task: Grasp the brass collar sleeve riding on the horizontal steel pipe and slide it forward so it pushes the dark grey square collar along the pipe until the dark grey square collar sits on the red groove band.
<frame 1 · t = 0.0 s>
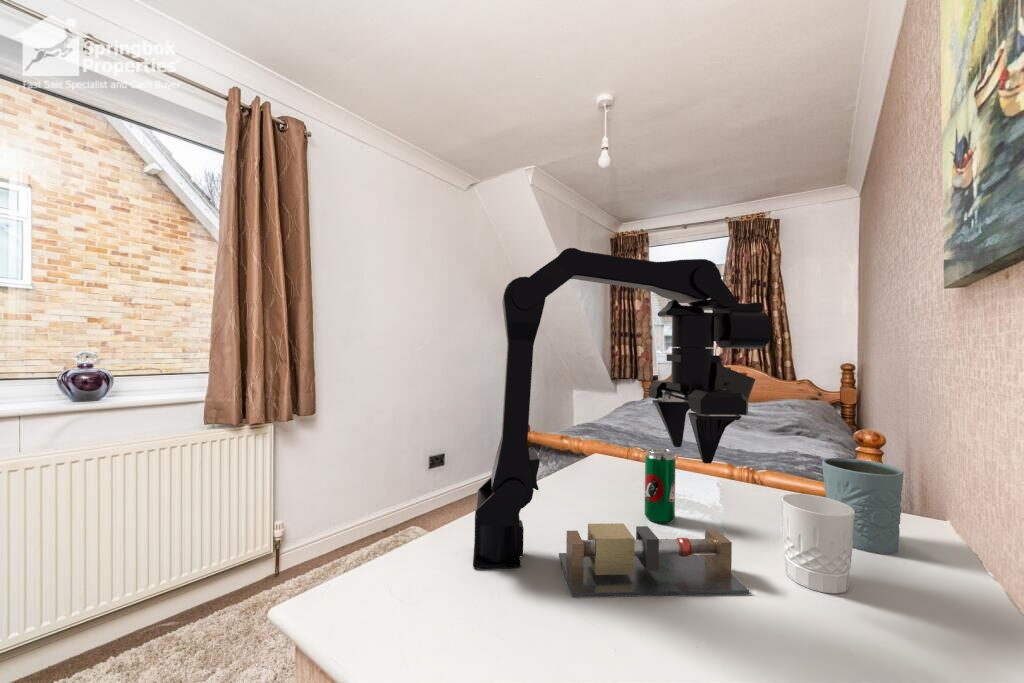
hand: (691, 454, 63), 15 cm above the table, tool pointing down, fingers open, 9 cm apart
dark grey square collar: (646, 547, 58), point 3 cm above the table, slide at 0.0 cm
sleeve: (610, 548, 57), point 3 cm above the table, slide at 0.0 cm
soda can: (659, 520, 76), on the table
drinking glass 2: (860, 541, 69), on the table
pipe rig: (646, 573, 58), on the table
white cup: (815, 581, 57), on the table
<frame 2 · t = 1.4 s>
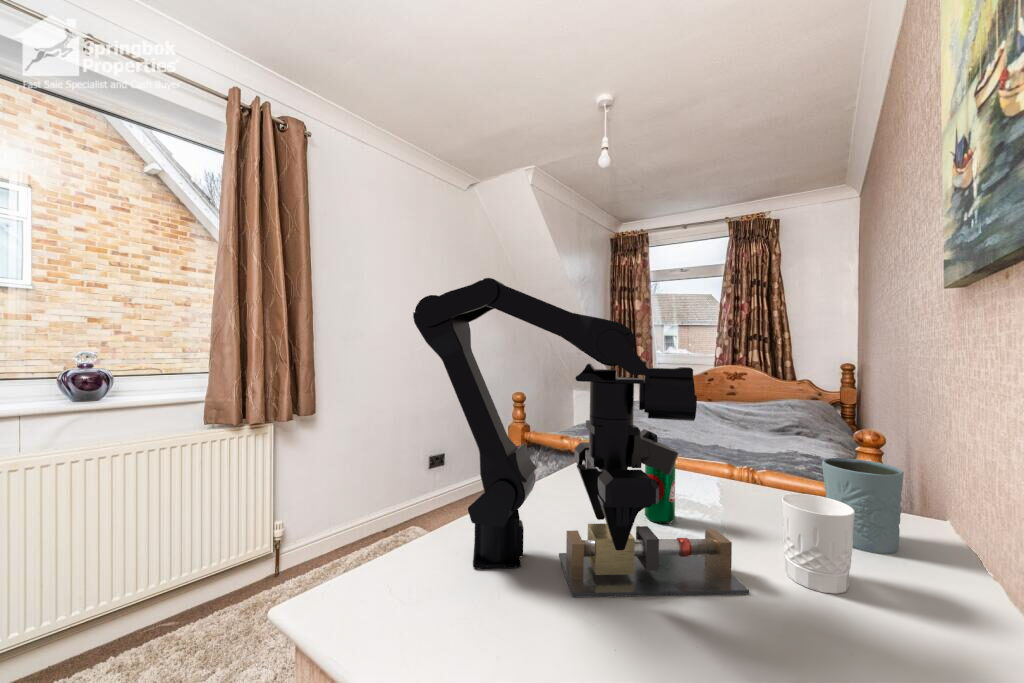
hand: (609, 533, 58), 5 cm above the table, tool pointing down, fingers open, 9 cm apart
nothing on the table moved.
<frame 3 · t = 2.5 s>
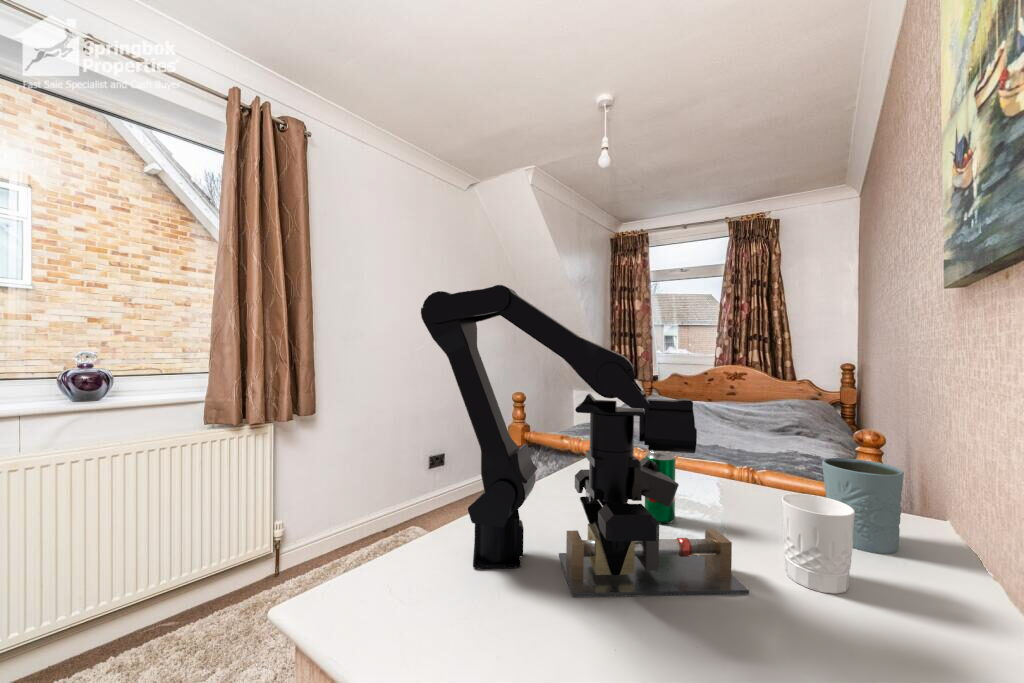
hand: (609, 564, 57), 1 cm above the table, tool pointing down, fingers closed on sleeve, 5 cm apart
sleeve: (610, 548, 57), point 3 cm above the table, slide at 0.0 cm, touching gripper
everything else where it was.
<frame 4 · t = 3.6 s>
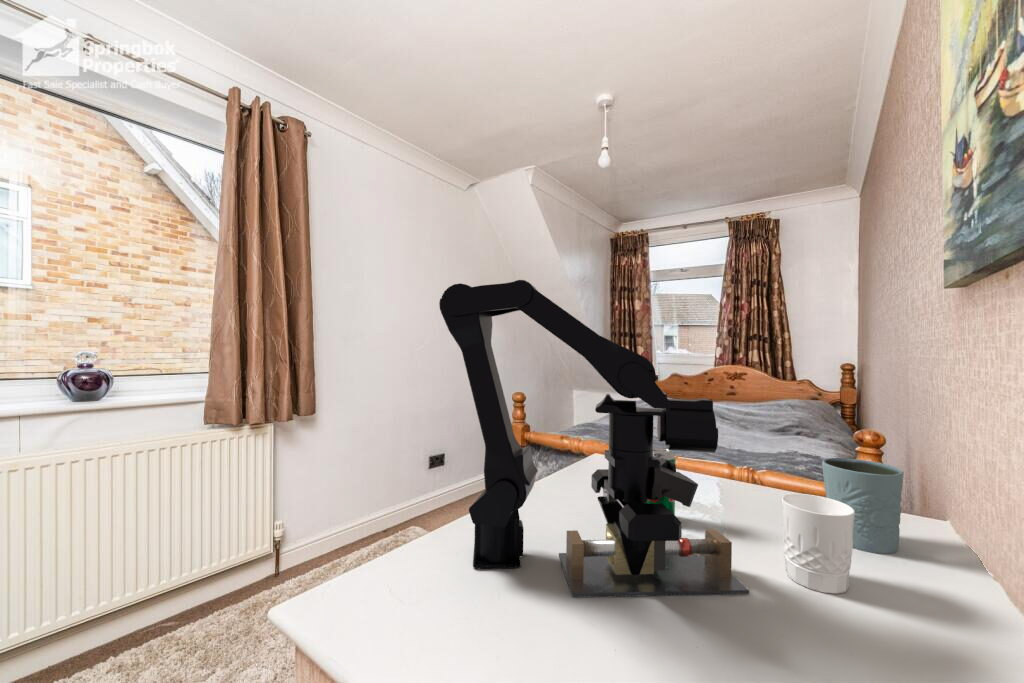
hand: (628, 564, 58), 1 cm above the table, tool pointing down, fingers closed on sleeve, 5 cm apart
dark grey square collar: (653, 547, 58), point 3 cm above the table, slide at 0.9 cm, touching sleeve
sleeve: (629, 547, 58), point 3 cm above the table, slide at 2.6 cm, touching gripper, dark grey square collar
everything else where it was.
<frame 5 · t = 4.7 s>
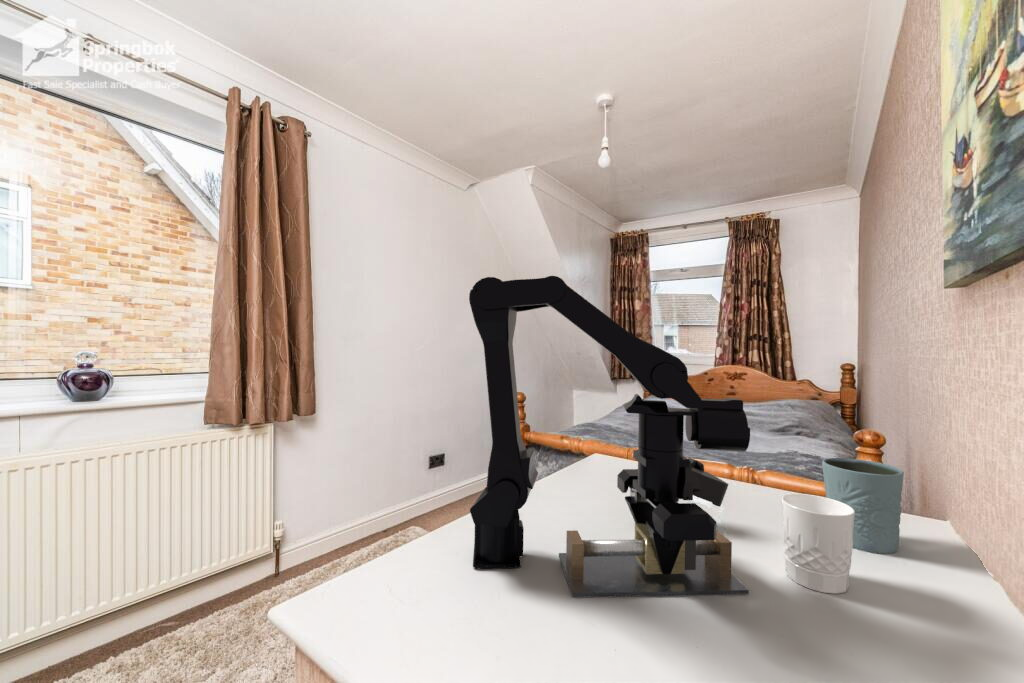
hand: (658, 563, 58), 1 cm above the table, tool pointing down, fingers closed on sleeve, 5 cm apart
dark grey square collar: (682, 547, 58), point 4 cm above the table, slide at 4.9 cm, touching sleeve
sleeve: (658, 547, 58), point 3 cm above the table, slide at 6.6 cm, touching gripper, dark grey square collar
everything else where it was.
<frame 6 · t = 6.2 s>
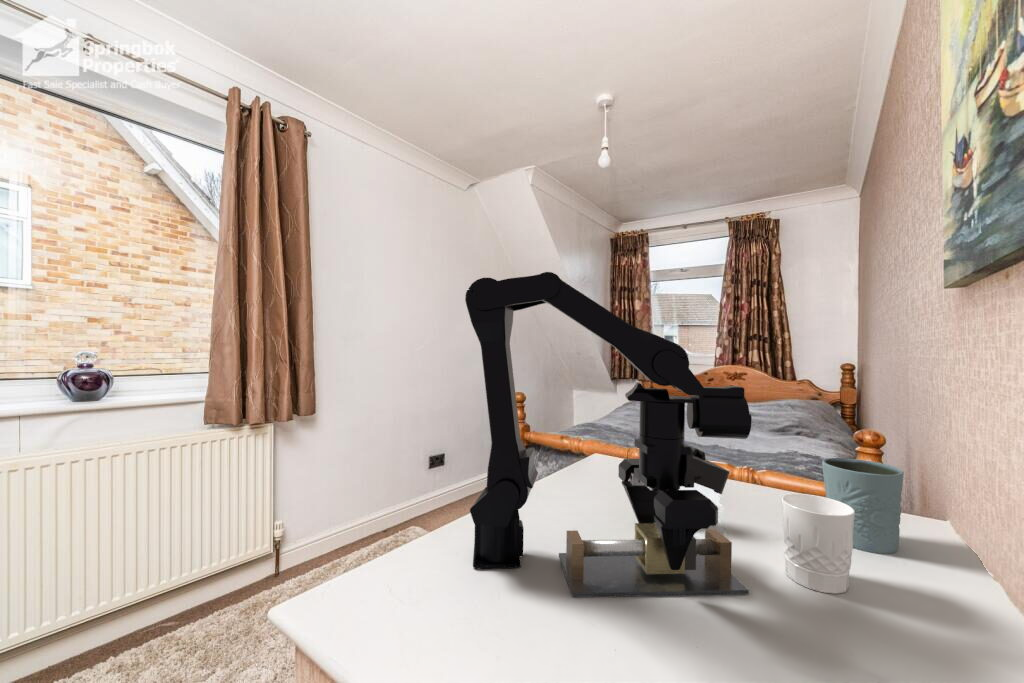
hand: (660, 551, 58), 3 cm above the table, tool pointing down, fingers open, 9 cm apart
dark grey square collar: (683, 547, 58), point 3 cm above the table, slide at 4.9 cm
sleeve: (658, 547, 58), point 4 cm above the table, slide at 6.6 cm
everything else where it was.
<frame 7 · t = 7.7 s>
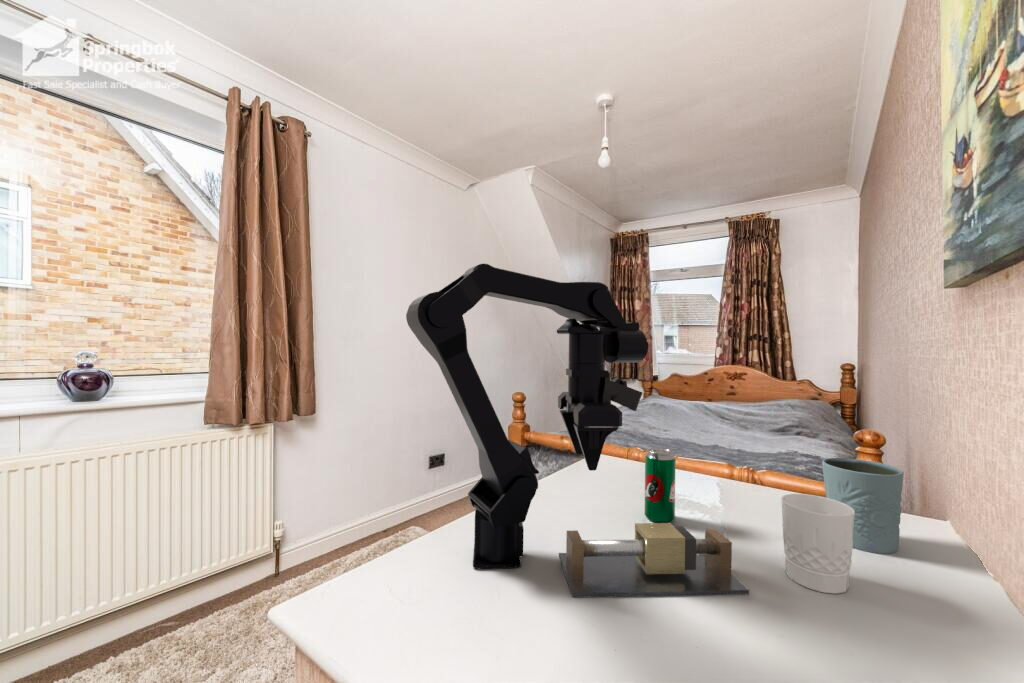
hand: (585, 461, 68), 12 cm above the table, tool pointing down, fingers open, 9 cm apart
nothing on the table moved.
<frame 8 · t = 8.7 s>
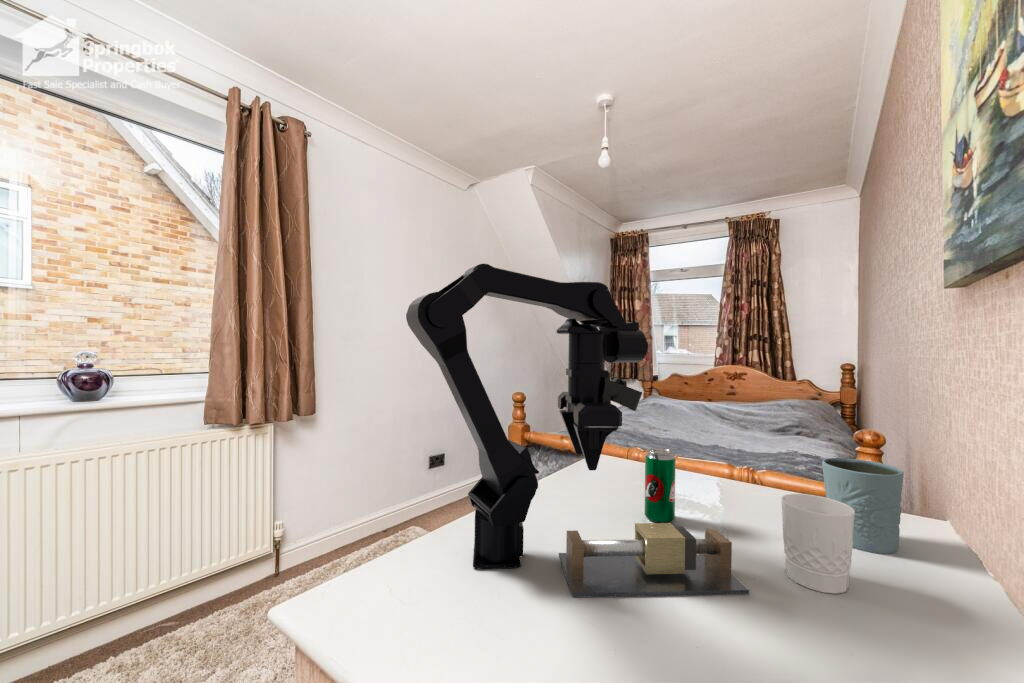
hand: (585, 461, 68), 12 cm above the table, tool pointing down, fingers open, 9 cm apart
nothing on the table moved.
at the end: dark grey square collar slide at 4.9 cm; sleeve slide at 6.6 cm; the gripper is holding nothing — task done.
